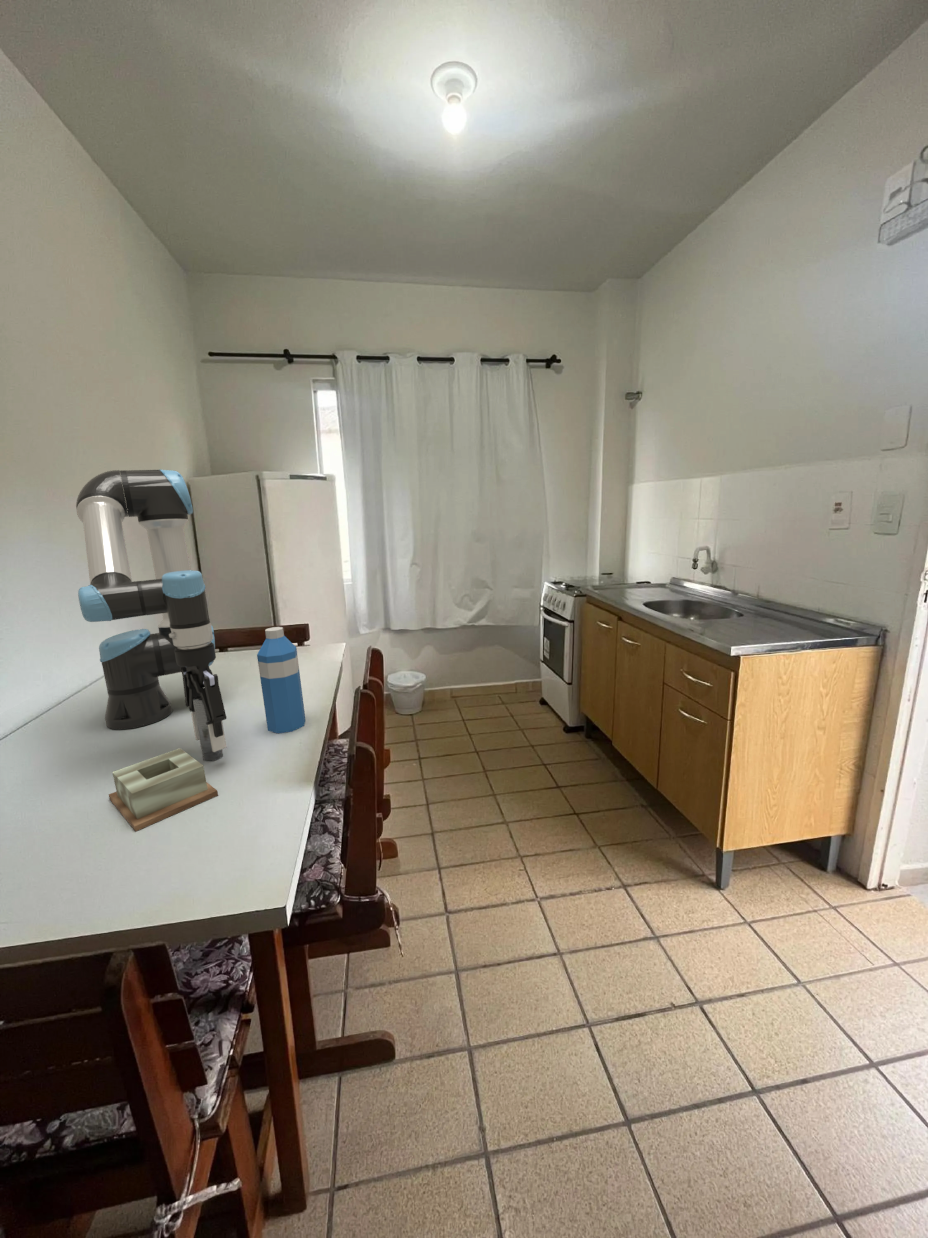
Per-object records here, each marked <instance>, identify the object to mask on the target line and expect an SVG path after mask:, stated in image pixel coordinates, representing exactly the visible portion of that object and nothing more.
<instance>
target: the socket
mask: <svg viewBox="0 0 928 1238" xmlns="http://www.w3.org/2000/svg"><path fill="white" fill-rule="evenodd" d="M112 778H113V783H114V785H115V786H114V787H115V790H116V791H114V792H112V793H111V792H110V793H109V794H108V799H109V800H110V802H111V803H112V804H113V805H114V807H115V808H116V809H117V810H118V812H119V813H120V814H121V815H122V816H123V817H124V819H125V820H126V821H127V823H129V825H130V827H132V829H133V830H134V832H138V831H140V830H142V829H145V828H147V827H149V826H151V825H154V824H156V823H158V822H161V821H163V820H166V819H168V818H170V817H172V816H174V815H176V814H179V813H181V812H183V811H185V810H188V809H190V808H192V807H195V806H196V805H200V804H202V803H204V802H206V801H209V800H211V799H214V798H216V797H217V796H219V792H218V790H217V789H216V788H215V787H214V786H212V785H211V784H210V783H209V782H208V781H207V778H206V773H205V767H204V765H203V764H202V763H201V762H200V761H198V760H196V759H195V758H194V757H192V756H191V755H190V754H189V753H187V752H186V751H185V750H183V748H181V747H179V748H176V749H174V750H170V751H167V752H165V753H162V754H158V755H157V756H154V757H151V758H147V759H145V760H142V761H139V762H136V763H134V764H131V765H128V766H126V767H123V768H120V769H117V770H114V771H112Z"/></svg>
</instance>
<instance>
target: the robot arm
mask: <svg viewBox="0 0 928 1238" xmlns="http://www.w3.org/2000/svg"><path fill="white" fill-rule="evenodd" d="M75 507H76V514H77V517H78V519H79V520H80V521H81V523H83V531H84V541H85V551H86V558H87V559H86V560H87V568H88V577H89V585H87V586H82V587H79V589H78V590H77V593H78V594H77V595H78V602H79V607H80V611H81V614H82V615H81V616H82V617H83V620H85V621H86V622H89V623H97V622H111V621H116V620H123V619H129V618H131V619H132V618H136V617H143V616H151V615H152V616H153V615H159V614H161V615H162V621H160V623H159V624H158V626H157V629H158V632H156V633H151V631H150V630H149V629H147V628H142V629H140V628H139V629H132V630H129V631H125V632H121V633H119V634H118V633H117V634H115V635H112V636H110V637H107V638H105V639H104V640H102V641H101V642H100V644H99V646H98V651H99V663H100V662H101V666H102V672H103V675H104V676H103V677H104V680H105V686H106V690H107V694H108V695H107V696H108V697H107V698H108V699H107V704H106V710H105V715H104V721H105V725H106V727H107V728H108V729H112V730H130V729H135V728H140V727H145V726H148V725H152V724H155V723H157V722H159V721H162V720H163V719H166V718H167V717H169V716H170V715H171V714H172V712H173V708H172V704H171V701H170V700H169V698H168V697H167V694H166V693H165V692H164V690H163V688H162V687H161V685H160V680H159V677H162V676H168V675H174V674H178V673H181V675H182V683H183V692H184V693H183V694H184V701H185V706H186V708H188V710H189V712H190V715H191V720H192V726H193V732H194V736H195V740H196V741H200V738H199V733H198V727H197V721H196V716H195V710H194V704H193V699H194V698H195V697H198V696H201V698H202V701H203V704H204V707H205V710H206V713H207V716H208V719H209V722H206V724H207V725H208V728H209V734H210V740H211V746H212V751H213V752H216V751H218V750H221V749H222V750H224V749H226V748H227V741H226V736H225V731H224V725H223V723H224V722H223V721H225V720H226V719H227V714H226V710H225V706H224V705H225V704H224V701H223V697H222V692H221V689H220V686H219V685H220V684H219V676H218V674H217V673H215V674H213V672H212V670H211V669H210V666H212V665H213V663H214V661H215V660H216V658H217V655H216V640H215V639H216V638H215V632H214V630H215V629H214V626H213V625H212V623H211V619H210V615H209V609H208V601H207V594H206V584H205V582H204V578H203V574H202V572H201V571H198V570H192V569H191V563H190V559H189V558H190V557H189V553H188V552H189V551H188V545H187V540H186V534H185V530H184V527H185V526H186V525H187V523H188V522H189V517H188V516H190V515H193V513H194V509H193V505H192V500H191V496H190V493H189V489H188V487H187V483H186V481H185V479H184V476H183V475H182V474H181V473H180V472H179V471H176V470H171V469H169V470H168V469H161V468H160V469H134V470H133V469H132V470H128V469H127V470H126V469H125V470H119V469H118V470H117V469H115V470H107V471H104V472H102V473H99V474H98V475H95V476H94V477H92V478H91V479H90V480H88V482H87V483H85V485H83V487H82V488H81V490H80V491H79V494H78V495H77V498H76V503H75ZM134 517H135V518H137V521H138V525H140V526H141V527H143V528H144V529H145V530H146V534H147V537H148V544H149V548H150V554H151V559H152V564H153V569H154V576H155V579H147V580H137V581H133V579H132V575H131V570H130V563H129V556H128V552H127V547H126V545H127V544H126V540H125V535H124V534H125V533H124V528H123V522H124V520H125V518H134Z"/></svg>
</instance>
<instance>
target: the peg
mask: <svg viewBox="0 0 928 1238" xmlns="http://www.w3.org/2000/svg"><path fill="white" fill-rule="evenodd" d="M193 704H194V710H195V716H196V721H197V727H198V733H199V738H200V740H199V743H200V748H201V755H202V760H203V761H204V762H208V763H209V762H215V761H217V760H220V759H221V758H223V757H224V753H223V749H221V750H218V751H216V752H213V751H212V746H211V740H210V734H209V728H208V725H207V724H206V722H209V719H208V716H207V713H206V710H205V707H204V704H203V701H202V698H201V696H198V697H195V698H194V699H193Z"/></svg>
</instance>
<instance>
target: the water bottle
mask: <svg viewBox="0 0 928 1238" xmlns="http://www.w3.org/2000/svg"><path fill="white" fill-rule="evenodd" d="M264 631H265V640H263V641H264V642H263V643H262V646H261V647H260V648H259V651H258V652H257V654H256V658H257V659H256V660H257V664H258V665H257V666H258V673H259V678H260V686H261V692H262V699H263V705H264V713H265V719H266V721H265V722H266V726H267V727H266V728H267V732H271V733H274V734H284V733H285V734H286V733H290V732H291V733H293V732H294V731H296V730H299V729H301V728H302V727H305V724H306V714H305V706H304V703H305V702H304V696H303V688H302V682H301V681H302V680H301V675H300V674H301V673H300V664H299V657H298V650H297V649H298V648H297V646H295V644H294V643H293V642H291V640H289V638H287V636H285V634H284V633H285V632H284V627H282V626H274V627H269V628H266V629H265V630H264Z"/></svg>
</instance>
